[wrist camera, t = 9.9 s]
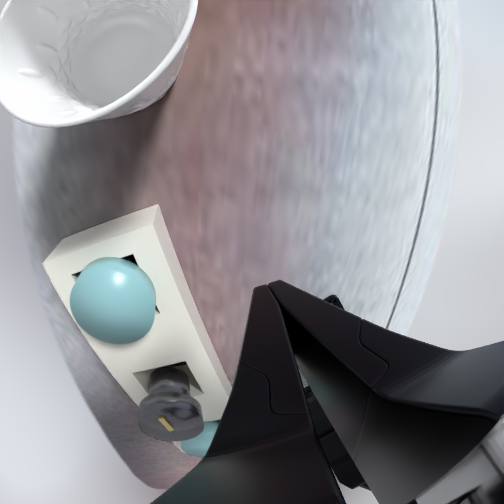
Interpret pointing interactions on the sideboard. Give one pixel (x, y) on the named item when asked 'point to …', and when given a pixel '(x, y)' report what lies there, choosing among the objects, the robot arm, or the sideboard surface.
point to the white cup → (89, 57)
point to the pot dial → (170, 407)
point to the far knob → (200, 440)
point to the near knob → (114, 300)
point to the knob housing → (166, 311)
